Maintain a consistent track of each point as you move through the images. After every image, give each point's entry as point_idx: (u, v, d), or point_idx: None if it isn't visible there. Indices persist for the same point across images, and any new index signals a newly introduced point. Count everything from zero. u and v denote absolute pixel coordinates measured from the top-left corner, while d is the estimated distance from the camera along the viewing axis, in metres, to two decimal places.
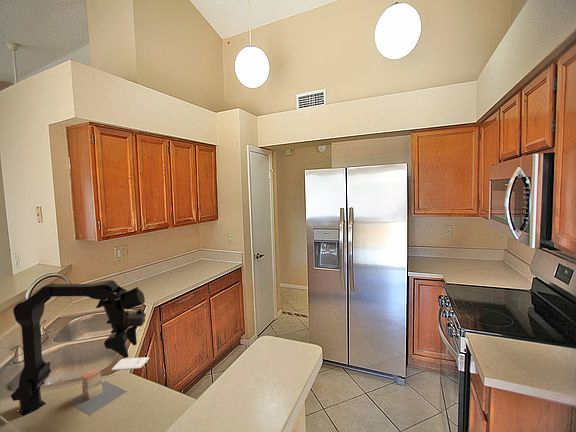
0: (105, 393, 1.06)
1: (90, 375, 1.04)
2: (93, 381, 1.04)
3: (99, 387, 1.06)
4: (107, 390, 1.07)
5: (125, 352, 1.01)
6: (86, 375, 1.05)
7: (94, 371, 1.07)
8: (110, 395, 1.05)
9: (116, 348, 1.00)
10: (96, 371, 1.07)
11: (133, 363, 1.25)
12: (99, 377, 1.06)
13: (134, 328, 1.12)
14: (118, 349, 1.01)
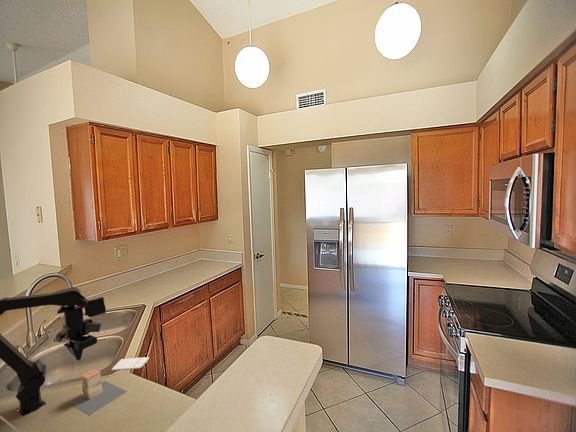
0: (105, 393, 1.06)
1: (90, 375, 1.04)
2: (93, 381, 1.04)
3: (99, 387, 1.06)
4: (107, 390, 1.07)
5: (81, 354, 1.09)
6: (86, 375, 1.05)
7: (94, 371, 1.07)
8: (110, 395, 1.05)
9: (75, 349, 1.07)
10: (96, 371, 1.07)
11: (133, 363, 1.25)
12: (99, 377, 1.06)
13: None
14: (76, 351, 1.07)
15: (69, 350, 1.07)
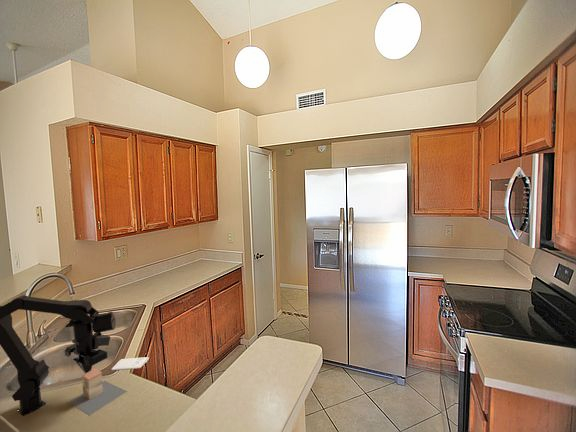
0: (105, 393, 1.06)
1: (91, 375, 1.04)
2: (94, 382, 1.04)
3: (99, 387, 1.06)
4: (107, 390, 1.07)
5: (90, 368, 1.07)
6: (88, 375, 1.04)
7: (95, 371, 1.06)
8: (110, 395, 1.05)
9: (85, 364, 1.05)
10: (97, 371, 1.06)
11: (133, 363, 1.25)
12: (100, 378, 1.06)
13: None
14: (86, 365, 1.05)
15: (79, 365, 1.05)
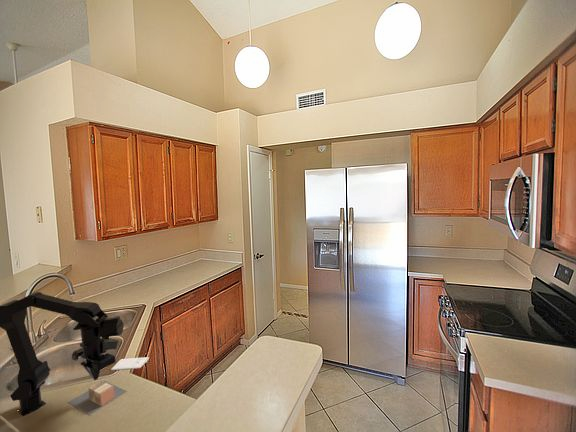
0: None
1: (106, 400, 1.01)
2: None
3: None
4: None
5: (98, 373, 1.04)
6: (103, 398, 1.00)
7: (111, 393, 1.02)
8: None
9: (93, 369, 1.02)
10: (112, 394, 1.03)
11: (133, 363, 1.25)
12: None
13: None
14: (94, 370, 1.02)
15: (86, 369, 1.02)
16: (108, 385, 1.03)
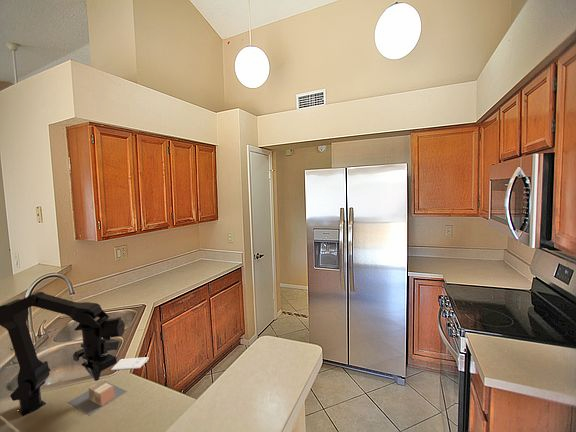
0: None
1: (106, 400, 1.01)
2: None
3: None
4: None
5: (99, 374, 1.04)
6: (103, 398, 1.00)
7: (111, 393, 1.02)
8: None
9: (94, 370, 1.02)
10: (112, 394, 1.03)
11: (133, 363, 1.25)
12: None
13: None
14: (95, 371, 1.02)
15: (87, 370, 1.02)
16: (108, 385, 1.03)
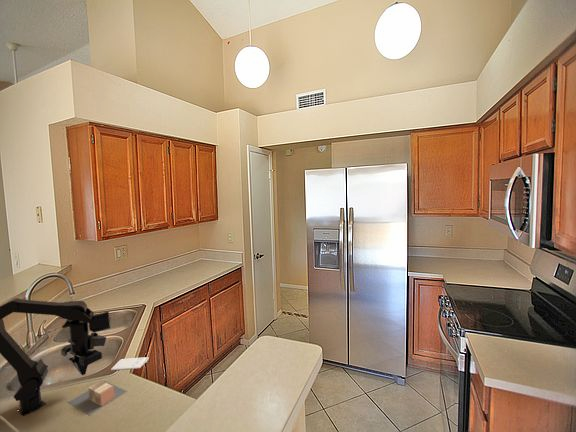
0: None
1: (106, 400, 1.01)
2: None
3: None
4: None
5: (85, 368, 1.08)
6: (103, 398, 1.00)
7: (111, 393, 1.02)
8: None
9: (80, 364, 1.06)
10: (112, 394, 1.03)
11: (132, 363, 1.25)
12: None
13: None
14: (81, 365, 1.06)
15: (74, 365, 1.06)
16: (108, 385, 1.03)
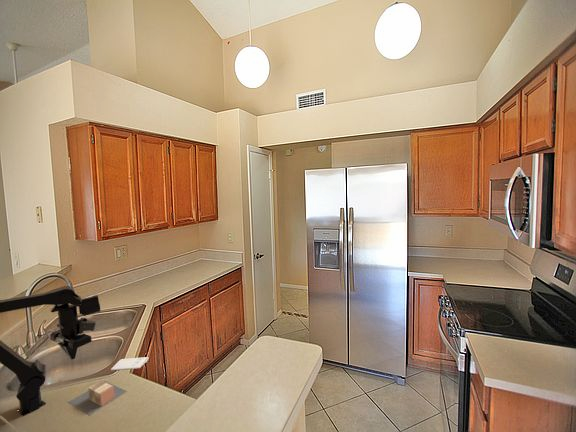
0: None
1: (106, 400, 1.01)
2: None
3: None
4: None
5: (75, 353, 1.08)
6: (103, 398, 1.00)
7: (111, 393, 1.02)
8: None
9: (69, 348, 1.06)
10: (112, 394, 1.03)
11: (132, 363, 1.25)
12: None
13: None
14: (70, 350, 1.07)
15: (63, 349, 1.07)
16: (108, 385, 1.03)
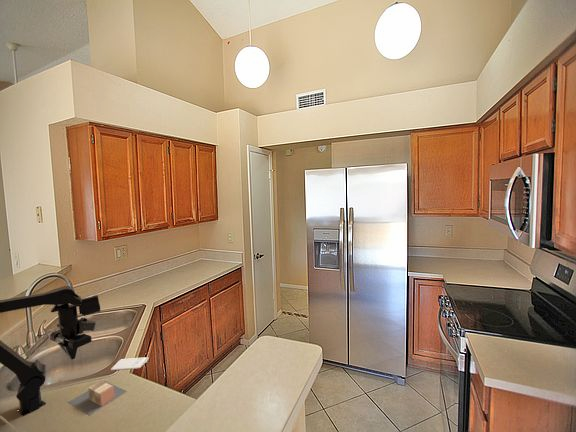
0: None
1: (106, 400, 1.01)
2: None
3: None
4: None
5: (75, 353, 1.08)
6: (103, 398, 1.00)
7: (111, 393, 1.02)
8: None
9: (69, 348, 1.06)
10: (112, 394, 1.03)
11: (132, 363, 1.25)
12: None
13: None
14: (70, 349, 1.07)
15: (63, 349, 1.07)
16: (108, 385, 1.03)
